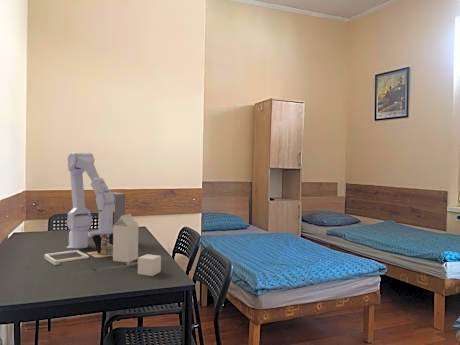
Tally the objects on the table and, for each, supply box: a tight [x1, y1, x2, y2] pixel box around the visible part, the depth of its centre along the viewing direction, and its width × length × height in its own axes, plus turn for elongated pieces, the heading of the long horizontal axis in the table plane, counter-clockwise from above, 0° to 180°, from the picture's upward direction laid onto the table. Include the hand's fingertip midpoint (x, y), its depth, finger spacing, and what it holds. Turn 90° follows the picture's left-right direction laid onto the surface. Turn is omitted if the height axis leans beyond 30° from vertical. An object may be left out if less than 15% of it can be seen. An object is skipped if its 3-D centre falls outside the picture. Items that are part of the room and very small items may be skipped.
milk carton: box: [112, 213, 139, 265], centre depth 154 cm, size 7×7×19 cm
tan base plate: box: [85, 242, 113, 259], centre depth 164 cm, size 12×12×6 cm
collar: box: [98, 243, 113, 255], centre depth 163 cm, size 7×5×3 cm
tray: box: [43, 249, 90, 266], centre depth 156 cm, size 13×13×2 cm
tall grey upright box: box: [101, 191, 126, 244], centre depth 186 cm, size 14×6×25 cm, turn 41°
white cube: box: [137, 253, 162, 277], centre depth 140 cm, size 6×6×6 cm
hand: (105, 251), depth 164 cm, fingers closed on collar, 5 cm apart
